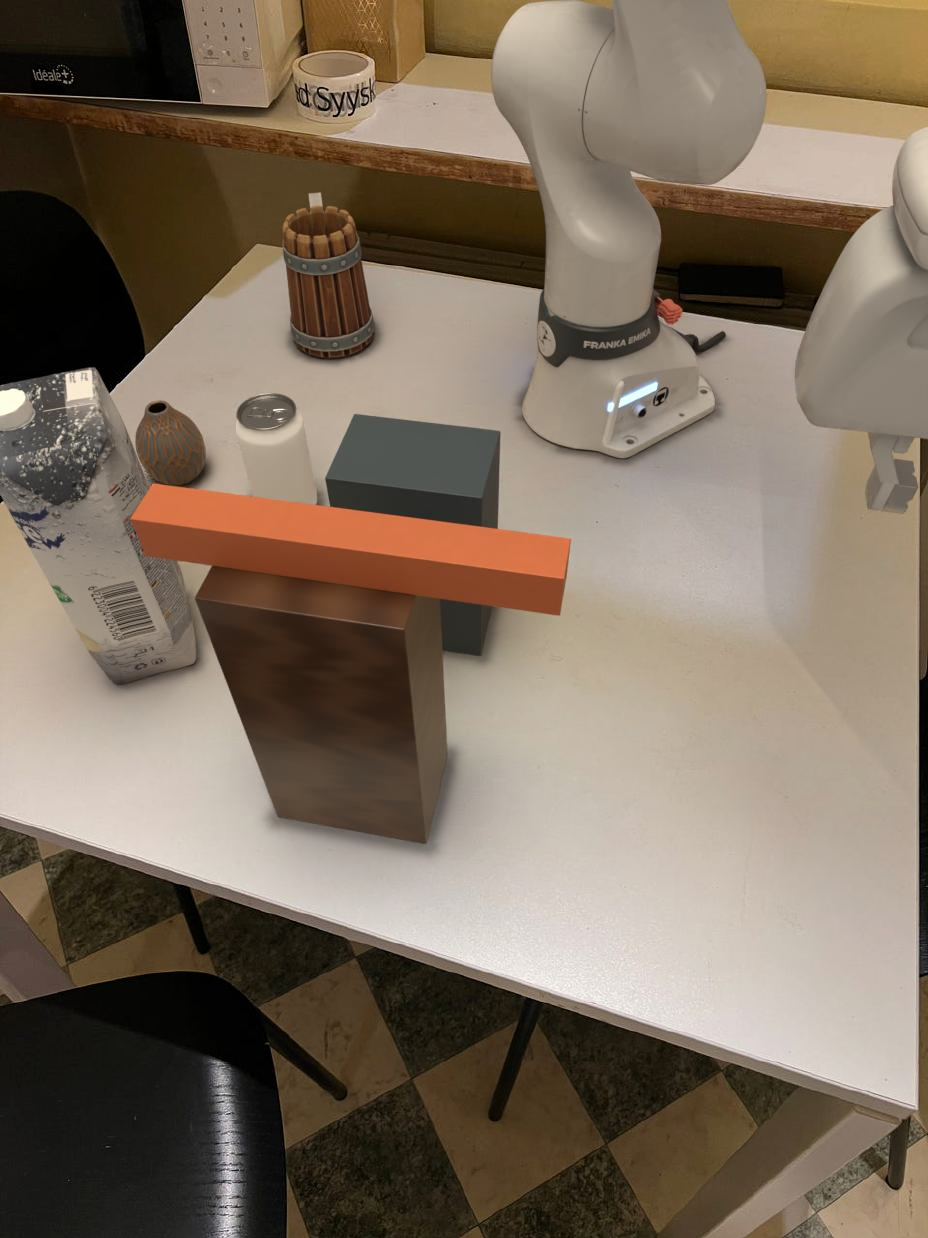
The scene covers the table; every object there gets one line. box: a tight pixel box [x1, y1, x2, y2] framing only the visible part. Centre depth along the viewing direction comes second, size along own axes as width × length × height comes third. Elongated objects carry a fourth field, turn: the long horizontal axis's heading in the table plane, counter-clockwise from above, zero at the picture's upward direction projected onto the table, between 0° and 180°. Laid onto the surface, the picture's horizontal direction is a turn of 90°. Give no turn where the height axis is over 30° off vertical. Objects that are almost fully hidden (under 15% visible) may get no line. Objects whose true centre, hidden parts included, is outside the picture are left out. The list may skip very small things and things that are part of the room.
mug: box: [281, 192, 375, 359], centre depth 107 cm, size 16×11×15 cm
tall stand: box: [194, 566, 448, 844], centre depth 59 cm, size 12×8×26 cm, turn 79°
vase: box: [134, 399, 207, 487], centre depth 91 cm, size 7×7×9 cm
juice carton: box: [0, 366, 197, 685], centre depth 69 cm, size 9×10×27 cm
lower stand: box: [324, 413, 501, 657], centre depth 74 cm, size 12×8×19 cm, turn 79°
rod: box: [131, 483, 572, 617], centre depth 48 cm, size 24×3×3 cm, turn 79°
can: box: [235, 392, 318, 505], centre depth 86 cm, size 6×6×12 cm
